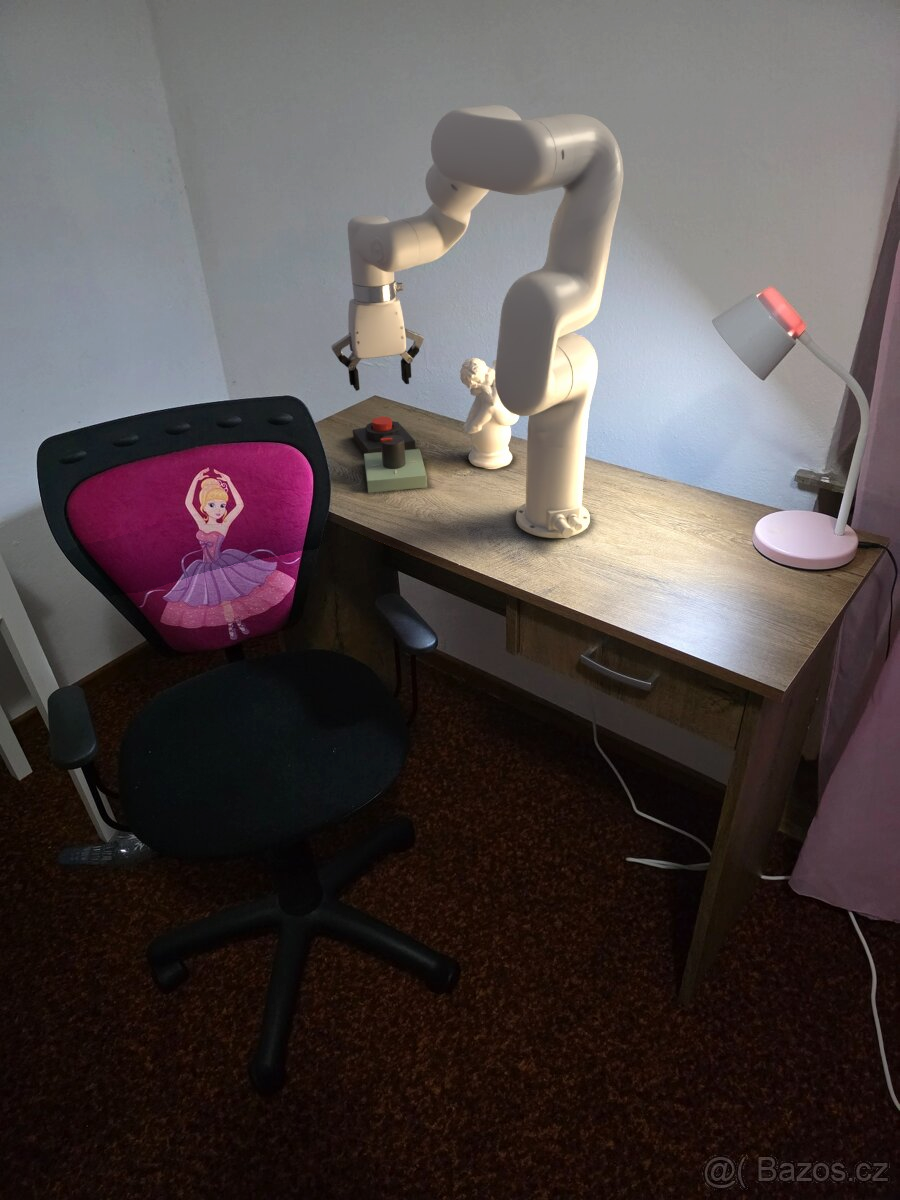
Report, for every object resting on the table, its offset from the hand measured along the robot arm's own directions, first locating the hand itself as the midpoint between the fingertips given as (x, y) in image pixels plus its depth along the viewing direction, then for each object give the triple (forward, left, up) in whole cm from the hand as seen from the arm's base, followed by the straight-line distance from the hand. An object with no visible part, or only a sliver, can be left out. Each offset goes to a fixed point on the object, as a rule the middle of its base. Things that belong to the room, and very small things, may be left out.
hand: (381, 385), depth 153 cm
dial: (-9, 0, -12) cm, 15 cm away
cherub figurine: (-7, -21, -15) cm, 27 cm away
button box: (+6, -1, -15) cm, 16 cm away
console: (-9, 0, -15) cm, 17 cm away
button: (+6, -1, -11) cm, 13 cm away
